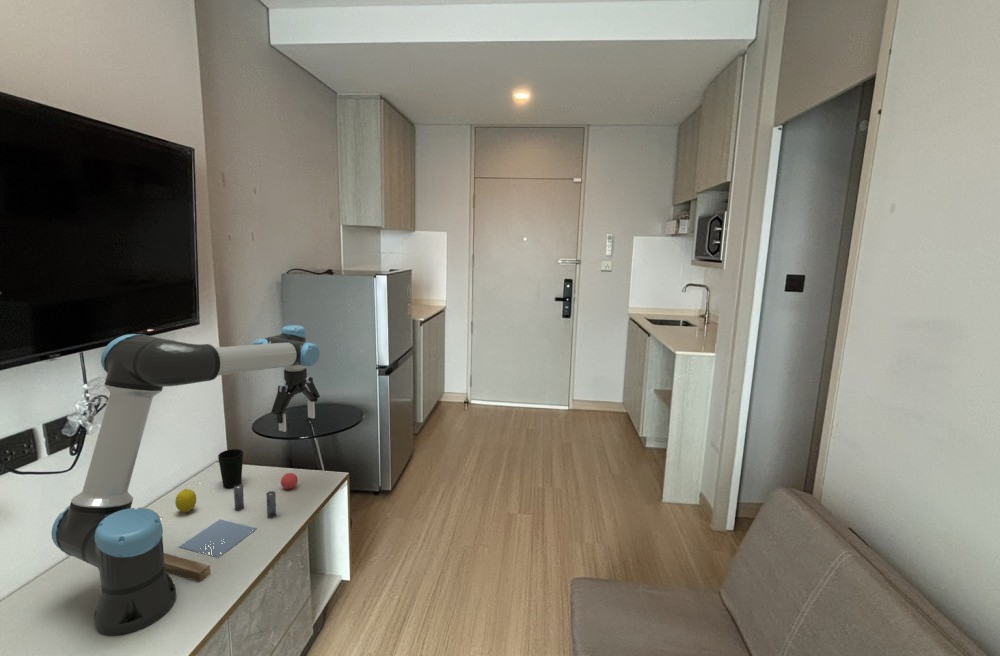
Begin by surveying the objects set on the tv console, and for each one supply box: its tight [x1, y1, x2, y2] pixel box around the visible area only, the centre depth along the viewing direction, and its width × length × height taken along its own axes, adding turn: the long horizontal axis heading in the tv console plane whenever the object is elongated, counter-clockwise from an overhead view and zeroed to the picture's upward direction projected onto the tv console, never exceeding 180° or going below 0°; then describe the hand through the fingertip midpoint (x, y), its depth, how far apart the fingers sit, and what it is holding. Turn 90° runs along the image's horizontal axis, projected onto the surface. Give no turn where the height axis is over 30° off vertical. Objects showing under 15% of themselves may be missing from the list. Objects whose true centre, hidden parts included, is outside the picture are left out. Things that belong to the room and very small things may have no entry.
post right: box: [266, 490, 277, 519], centre depth 145 cm, size 3×3×8 cm
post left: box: [233, 483, 245, 512], centre depth 148 cm, size 3×3×8 cm
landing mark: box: [178, 519, 258, 559], centre depth 134 cm, size 14×14×1 cm
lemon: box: [174, 488, 197, 513], centre depth 145 cm, size 6×6×8 cm
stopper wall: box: [164, 552, 211, 582], centre depth 121 cm, size 3×20×2 cm, turn 76°
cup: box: [217, 448, 244, 490], centre depth 162 cm, size 8×8×12 cm
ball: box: [280, 472, 299, 490], centre depth 162 cm, size 6×6×6 cm
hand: (297, 424), depth 167 cm, fingers open, 13 cm apart
